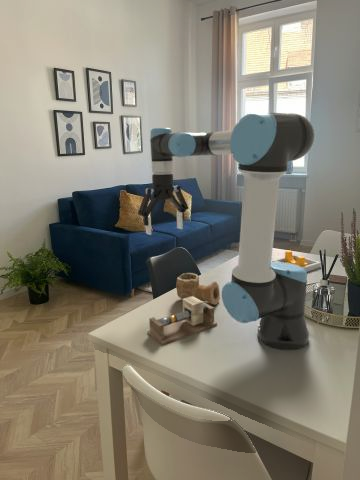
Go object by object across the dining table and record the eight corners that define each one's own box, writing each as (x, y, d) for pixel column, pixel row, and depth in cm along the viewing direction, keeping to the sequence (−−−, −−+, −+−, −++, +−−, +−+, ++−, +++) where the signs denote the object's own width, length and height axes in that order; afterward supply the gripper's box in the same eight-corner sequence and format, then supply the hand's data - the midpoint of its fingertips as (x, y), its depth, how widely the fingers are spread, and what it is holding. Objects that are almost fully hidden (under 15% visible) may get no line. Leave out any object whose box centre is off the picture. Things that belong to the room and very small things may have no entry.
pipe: (215, 309, 131) (215, 283, 128) (172, 304, 136) (172, 279, 133) (220, 299, 139) (221, 275, 136) (180, 294, 144) (180, 271, 142)
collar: (192, 315, 123) (192, 295, 121) (203, 322, 118) (203, 301, 116) (182, 318, 120) (182, 298, 119) (193, 325, 116) (192, 305, 114)
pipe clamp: (307, 270, 169) (308, 257, 167) (299, 271, 168) (300, 258, 166) (292, 262, 180) (292, 250, 178) (284, 263, 179) (285, 251, 177)
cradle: (200, 314, 127) (200, 300, 125) (217, 325, 120) (217, 309, 118) (147, 332, 116) (147, 316, 114) (162, 345, 108) (161, 328, 107)
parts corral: (320, 267, 172) (321, 262, 171) (298, 274, 163) (299, 269, 163) (293, 259, 184) (293, 254, 184) (272, 265, 176) (272, 260, 175)
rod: (202, 310, 123) (202, 303, 122) (207, 313, 120) (207, 306, 120) (156, 326, 113) (156, 318, 112) (160, 329, 111) (160, 321, 110)
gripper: (185, 170, 139) (186, 225, 145) (126, 175, 126) (129, 234, 131) (196, 171, 133) (197, 228, 139) (136, 176, 120) (139, 238, 125)
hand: (164, 231), depth 135 cm, fingers open, 13 cm apart
